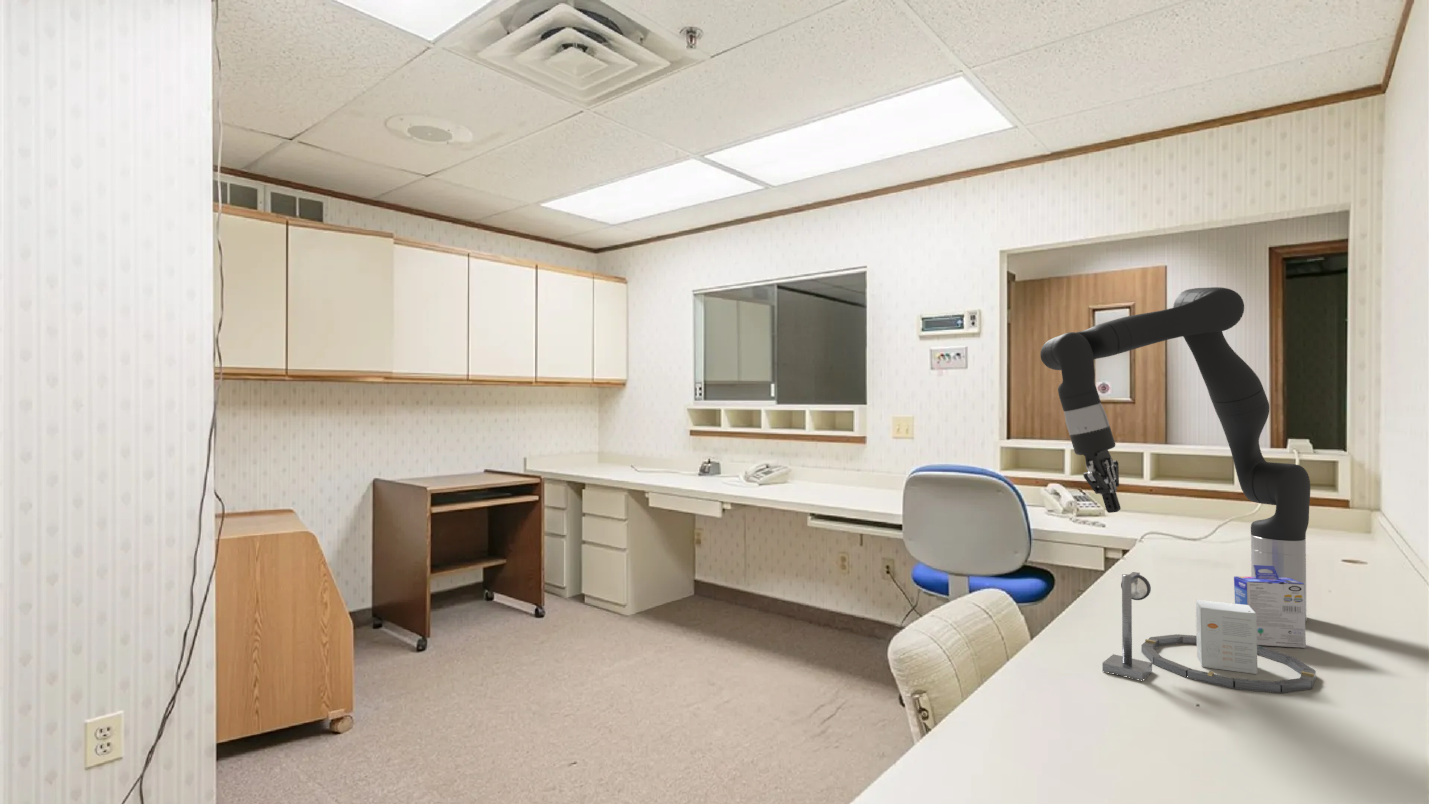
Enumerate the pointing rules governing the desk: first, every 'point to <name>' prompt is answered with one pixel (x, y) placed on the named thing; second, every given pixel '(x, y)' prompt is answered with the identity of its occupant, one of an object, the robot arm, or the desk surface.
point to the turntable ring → (1244, 684)
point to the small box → (1226, 636)
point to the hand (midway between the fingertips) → (1114, 511)
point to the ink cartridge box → (1274, 607)
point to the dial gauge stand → (1129, 630)
